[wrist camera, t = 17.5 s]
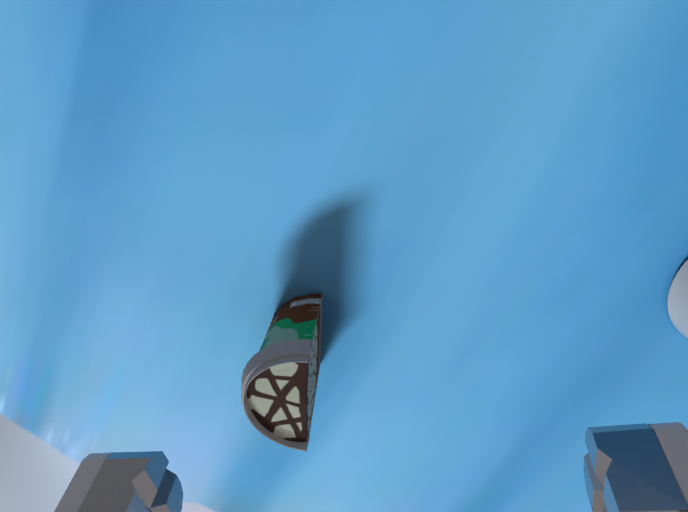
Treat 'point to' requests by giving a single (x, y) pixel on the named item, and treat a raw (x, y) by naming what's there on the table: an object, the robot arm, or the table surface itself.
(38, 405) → the table surface
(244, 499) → the table surface
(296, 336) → the food container
